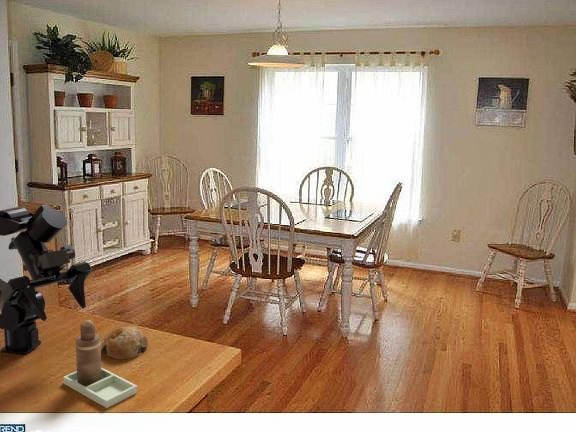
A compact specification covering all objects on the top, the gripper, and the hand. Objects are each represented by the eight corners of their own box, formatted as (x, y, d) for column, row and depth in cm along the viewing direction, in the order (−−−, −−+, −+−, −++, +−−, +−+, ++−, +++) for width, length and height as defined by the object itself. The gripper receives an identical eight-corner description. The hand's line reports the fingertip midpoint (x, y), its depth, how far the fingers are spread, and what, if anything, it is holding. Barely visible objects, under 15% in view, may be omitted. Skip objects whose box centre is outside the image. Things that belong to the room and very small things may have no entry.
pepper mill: (72, 386, 109) (69, 323, 106) (84, 374, 114) (82, 314, 111) (94, 389, 109) (92, 326, 106) (105, 377, 113) (104, 316, 110)
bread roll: (127, 377, 122) (140, 350, 120) (90, 354, 123) (103, 327, 121) (146, 358, 131) (159, 333, 129) (112, 336, 132) (124, 311, 130)
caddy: (63, 385, 110) (63, 376, 110) (94, 371, 116) (94, 363, 116) (106, 410, 102) (106, 401, 102) (137, 394, 108) (137, 385, 108)
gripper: (5, 242, 106) (37, 307, 103) (86, 227, 121) (117, 284, 118) (-12, 271, 112) (18, 333, 109) (68, 253, 127) (96, 308, 124)
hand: (65, 313), depth 114 cm, fingers open, 9 cm apart
